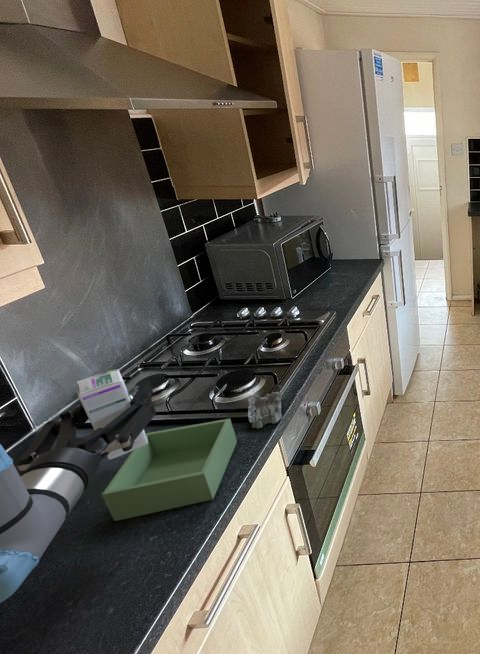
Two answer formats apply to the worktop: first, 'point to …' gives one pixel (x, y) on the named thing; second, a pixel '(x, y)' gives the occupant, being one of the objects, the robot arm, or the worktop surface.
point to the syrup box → (107, 403)
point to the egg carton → (264, 409)
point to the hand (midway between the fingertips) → (123, 392)
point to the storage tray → (172, 470)
